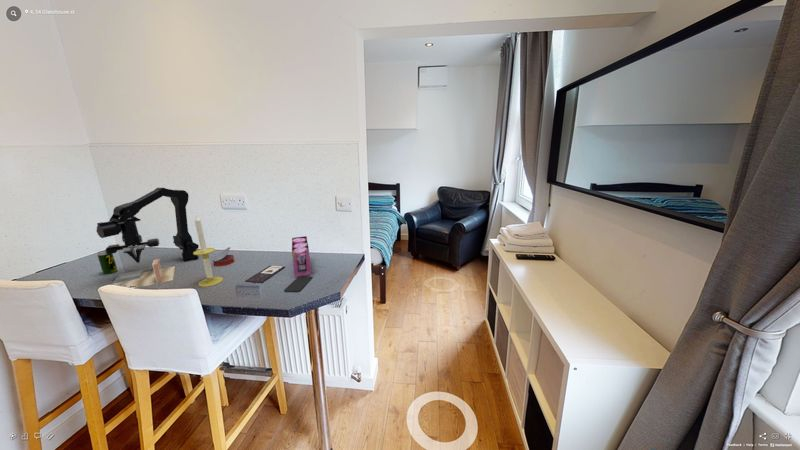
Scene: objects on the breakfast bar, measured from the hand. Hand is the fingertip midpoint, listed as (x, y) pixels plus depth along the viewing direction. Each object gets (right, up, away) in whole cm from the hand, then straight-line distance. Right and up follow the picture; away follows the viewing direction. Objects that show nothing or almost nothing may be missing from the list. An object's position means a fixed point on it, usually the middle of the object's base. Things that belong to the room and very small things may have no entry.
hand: (138, 262), depth 141 cm
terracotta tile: (+13, -8, -3) cm, 15 cm away
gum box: (+78, -4, +8) cm, 79 cm away
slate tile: (0, -6, +2) cm, 6 cm away
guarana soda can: (-20, -7, +6) cm, 22 cm away
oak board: (+5, -8, -2) cm, 9 cm away
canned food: (+32, -3, +17) cm, 36 cm away
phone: (+83, -9, -11) cm, 84 cm away
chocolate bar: (+63, -7, +1) cm, 63 cm away
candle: (+40, -9, -6) cm, 41 cm away
